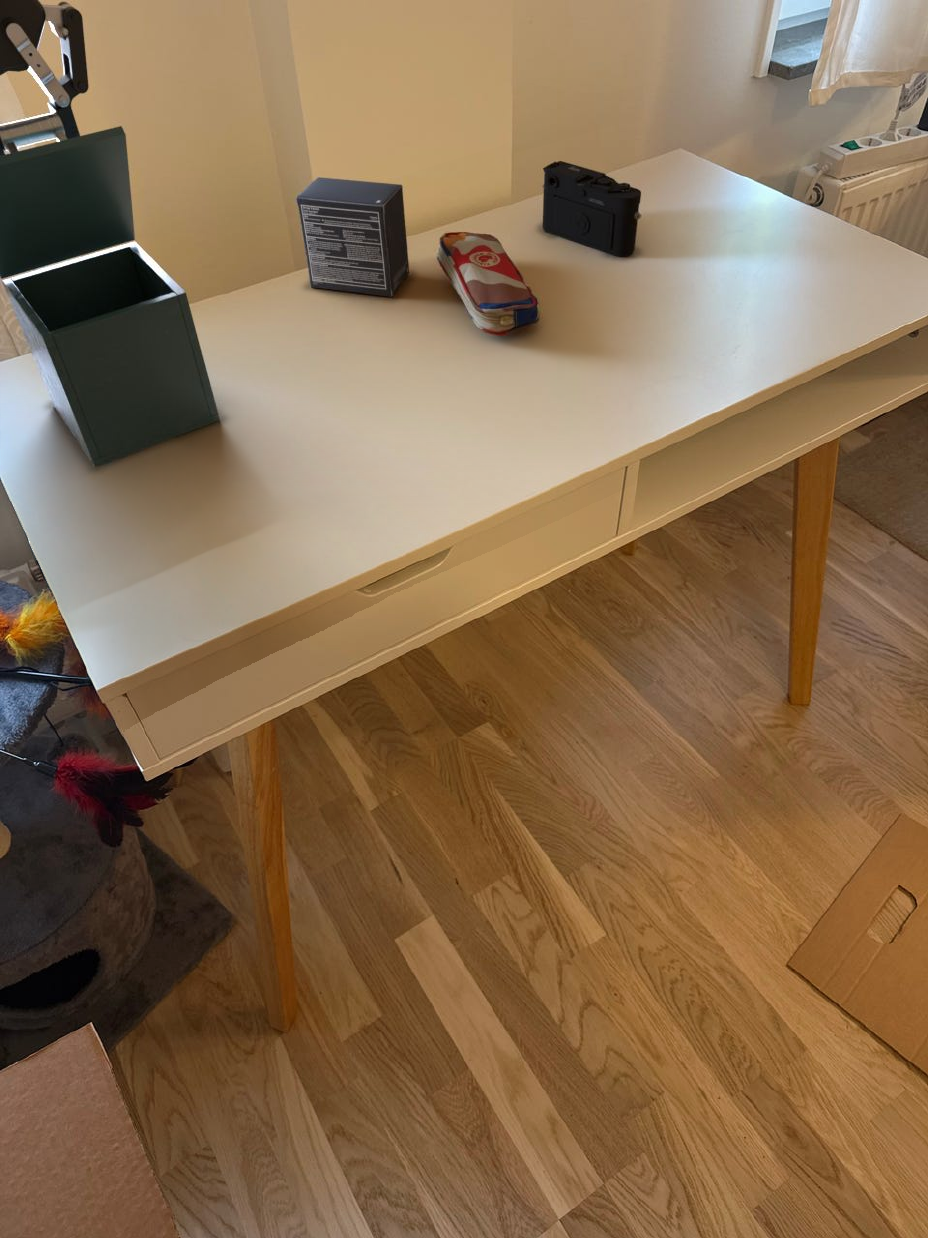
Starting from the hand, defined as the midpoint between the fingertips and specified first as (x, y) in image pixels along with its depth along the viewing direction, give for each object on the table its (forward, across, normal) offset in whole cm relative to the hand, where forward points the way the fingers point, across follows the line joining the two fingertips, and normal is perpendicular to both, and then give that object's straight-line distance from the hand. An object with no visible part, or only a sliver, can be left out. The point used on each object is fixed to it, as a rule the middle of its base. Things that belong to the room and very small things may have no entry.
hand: (37, 159), depth 79 cm
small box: (+23, -31, -5) cm, 39 cm away
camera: (+23, -60, +4) cm, 65 cm away
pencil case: (+23, -40, +8) cm, 47 cm away
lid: (+3, 0, +3) cm, 4 cm away
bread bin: (+23, 0, +5) cm, 23 cm away
